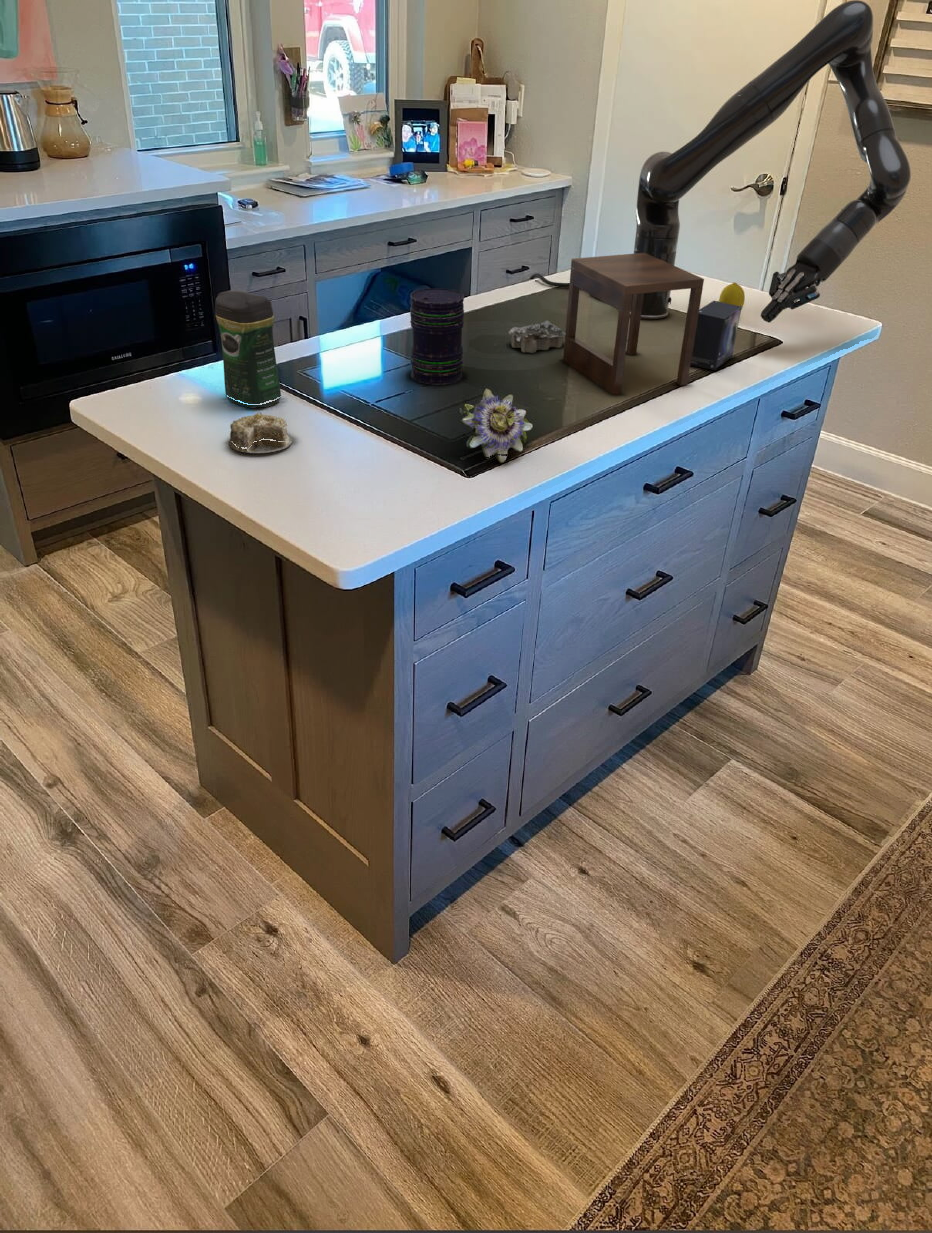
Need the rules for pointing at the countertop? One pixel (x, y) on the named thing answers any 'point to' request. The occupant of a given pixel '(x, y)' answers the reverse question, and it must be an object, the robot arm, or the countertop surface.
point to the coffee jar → (248, 348)
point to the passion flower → (496, 425)
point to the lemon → (733, 295)
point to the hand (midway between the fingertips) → (764, 319)
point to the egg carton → (537, 337)
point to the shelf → (625, 310)
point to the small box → (715, 334)
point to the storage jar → (436, 335)
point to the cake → (259, 434)
